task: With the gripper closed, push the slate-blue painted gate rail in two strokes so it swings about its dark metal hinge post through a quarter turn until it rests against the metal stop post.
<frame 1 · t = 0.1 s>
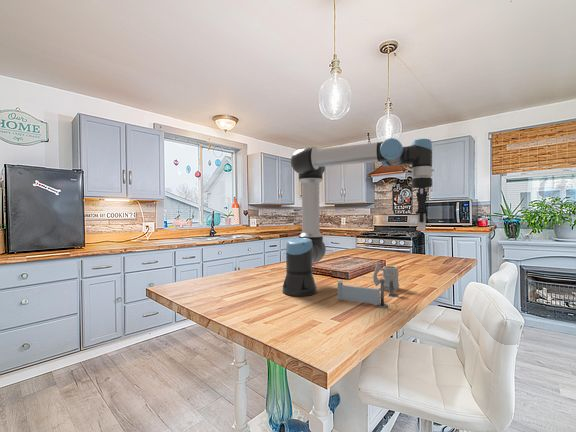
hand: (421, 230, 114), 28 cm above the kitchen island, fingers open, 13 cm apart
gate: (358, 291, 108), point 4 cm above the kitchen island, hinge at 0.0°
mug: (385, 288, 129), on the kitchen island
hinge post: (382, 305, 104), on the kitchen island
stop post: (391, 295, 118), on the kitchen island
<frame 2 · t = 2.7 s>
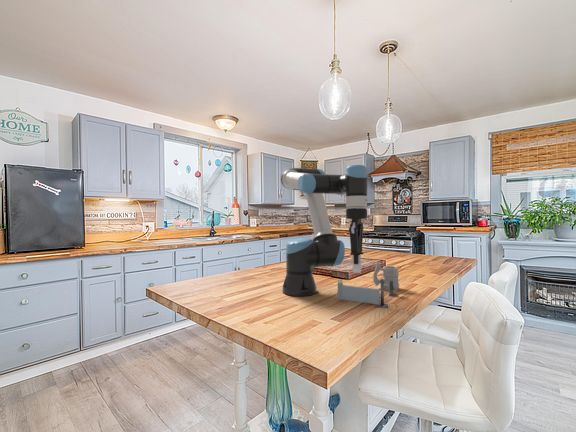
hand: (356, 272, 101), 13 cm above the kitchen island, fingers closed
nothing on the kitchen island moved.
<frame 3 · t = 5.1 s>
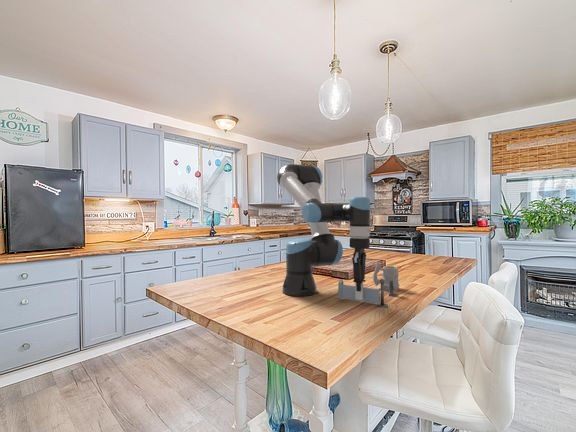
hand: (359, 299, 106), 2 cm above the kitchen island, fingers closed
gate: (358, 291, 109), point 4 cm above the kitchen island, hinge at 3.5°, touching gripper
everything else where it was.
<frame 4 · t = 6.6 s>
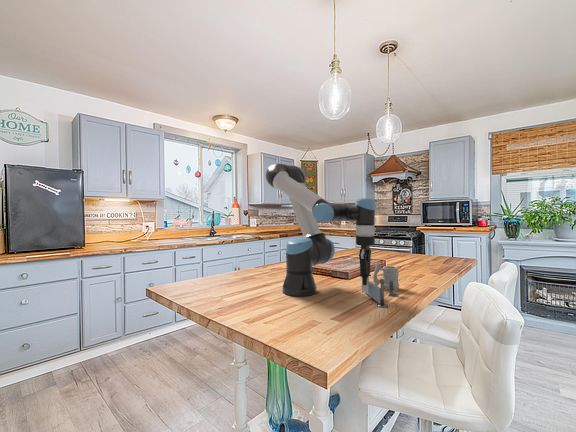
hand: (365, 292, 116), 2 cm above the kitchen island, fingers closed
gate: (372, 288, 113), point 4 cm above the kitchen island, hinge at 58.3°
everything else where it was.
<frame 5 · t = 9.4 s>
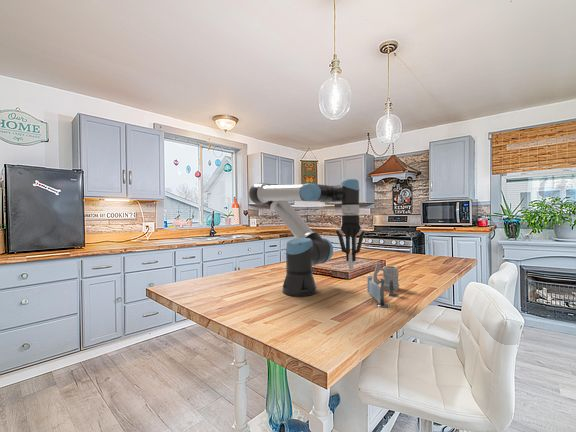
hand: (351, 268, 122), 11 cm above the kitchen island, fingers closed
gate: (374, 288, 113), point 4 cm above the kitchen island, hinge at 63.3°
everything else where it was.
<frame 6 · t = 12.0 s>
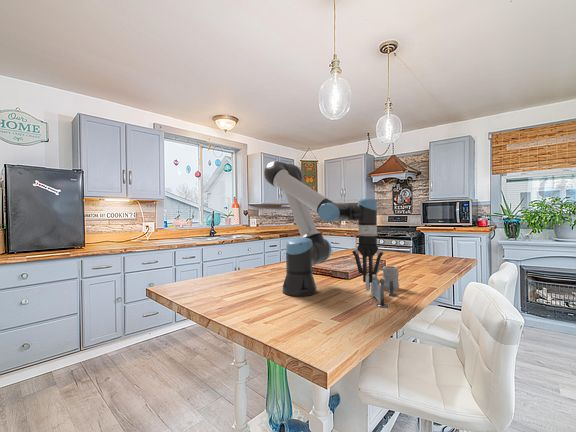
hand: (367, 289, 119), 2 cm above the kitchen island, fingers closed
gate: (376, 288, 113), point 4 cm above the kitchen island, hinge at 68.5°, touching gripper
everything else where it was.
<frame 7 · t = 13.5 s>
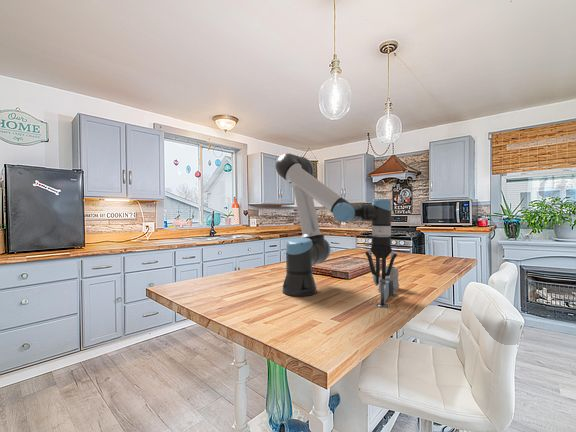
hand: (380, 291, 117), 2 cm above the kitchen island, fingers closed
gate: (385, 288, 112), point 4 cm above the kitchen island, hinge at 90.3°, touching gripper, stop post
everything else where it was.
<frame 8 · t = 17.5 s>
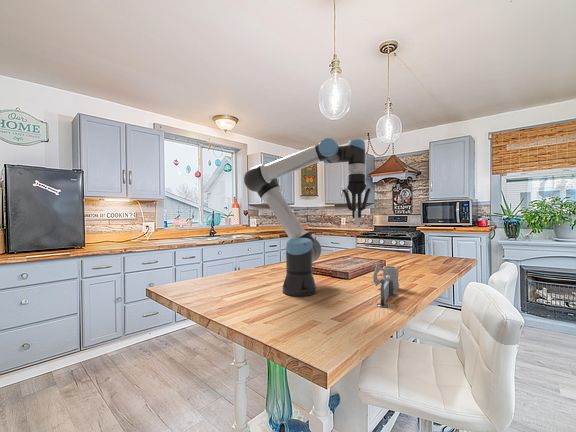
hand: (356, 225, 128), 29 cm above the kitchen island, fingers closed
gate: (385, 288, 112), point 4 cm above the kitchen island, hinge at 90.3°, touching stop post
everything else where it was.
at the end: gate at +90° (first picture: +0°); the gripper is holding nothing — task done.
